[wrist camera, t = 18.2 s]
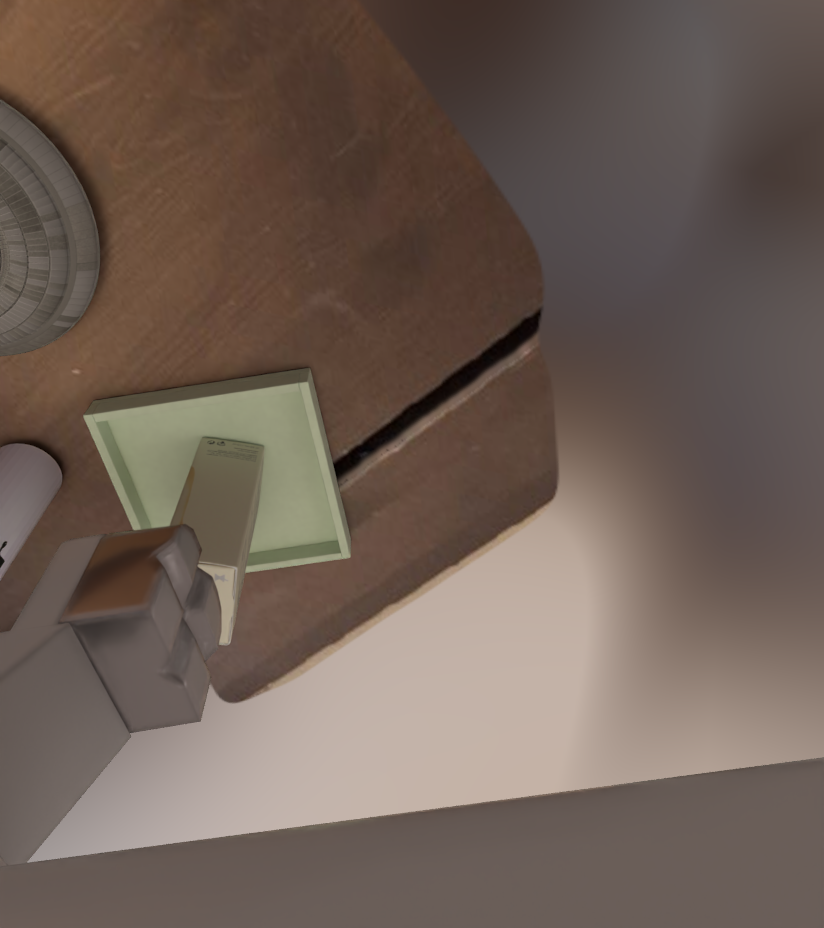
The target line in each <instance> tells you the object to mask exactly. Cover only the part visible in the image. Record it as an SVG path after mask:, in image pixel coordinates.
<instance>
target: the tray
mask: <svg viewBox="0 0 824 928" xmlns="http://www.w3.org/2000/svg"><path fill="white" fill-rule="evenodd" d="M83 417H84V419H85V422H86V424H87V426H88V428H89V431H90V433H91V435H92V437H93V440H94V442H95V444H96V447H97V449H98V451H99V453H100V456H101V458H102V460H103V462H104V465H105V467H106V469H107V471H108V474H109V476H110V478H111V480H112V483H113V485H114V487H115V489H116V492H117V494H118V496H119V498H120V501H121V503H122V505H123V507H124V510H125V512H126V514H127V517H128V519H129V521H130V523H131V526H132V528H133V530H140V529H148V528H156V527H164V526H170V523H171V520H172V517H173V515H174V512H175V509H176V506H177V504H178V501H179V498H180V495H181V493H182V490H183V487H184V484H185V482H186V479H187V476H188V474H189V471H190V468H191V465H192V462H193V460H194V457H195V454H196V451H197V448H198V446H199V443H200V440H201V438H212V439H220V440H228V441H234V442H241V443H246V444H252V445H258V446H263V447H264V463H263V474H262V484H261V493H260V501H259V507H258V514H257V519H256V523H255V528H254V533H253V538H252V542H251V547H250V552H249V557H248V561H247V566H246V571H245V573H247V572H254V571H261V570H268V569H275V568H282V567H289V566H296V565H303V564H310V563H317V562H324V561H331V560H338V559H342V558H343V559H345V558H350V557H351V537H350V533H349V529H348V525H347V521H346V516H345V512H344V508H343V504H342V500H341V495H340V491H339V487H338V483H337V479H336V474H335V470H334V466H333V462H332V458H331V453H330V449H329V445H328V441H327V437H326V432H325V428H324V424H323V420H322V416H321V412H320V407H319V403H318V399H317V395H316V391H315V386H314V382H313V378H312V374H311V370H310V368H304V369H298V370H291V371H285V372H278V373H272V374H265V375H259V376H252V377H245V378H239V379H232V380H226V381H219V382H213V383H206V384H200V385H193V386H186V387H180V388H173V389H167V390H160V391H154V392H147V393H140V394H134V395H127V396H121V397H114V398H108V399H101V400H95V401H93V402H92V404H91V405H90V406H89V408H88V409H87V411H86V412H85V414H84V415H83Z"/></svg>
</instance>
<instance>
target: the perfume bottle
mask: <svg viewBox="0 0 824 928" xmlns="http://www.w3.org/2000/svg"><path fill="white" fill-rule="evenodd" d="M61 484H62V473H61V470H60V468H59V466H58V464H57V463H56V461H55V460H54V459H53V458H52V457H51V456H50V455H49V454H47V453H46V452H45V451H43V450H41V449H39V448H37V447H34V446H31V445H27V444H18V443H16V444H9V445H6V446H3V447H1V448H0V580H1V579H2V577H3V576H4V574H5V572H6V571H7V569H8V568H9V566H10V565H11V563H12V562H13V560H14V559H15V557H16V555H17V554H18V552H19V551H20V549H21V548H22V546H23V545H24V543H25V541H26V540H27V538H28V537H29V535H30V534H31V532H32V531H33V529H34V528H35V526H36V524H37V523H38V521H39V520H40V518H41V517H42V515H43V514H44V512H45V510H46V509H47V507H48V506H49V504H50V503H51V501H52V500H53V498H54V497H55V495H56V493H57V492H58V490H59V489H60V487H61Z"/></svg>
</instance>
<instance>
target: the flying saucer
mask: <svg viewBox="0 0 824 928" xmlns="http://www.w3.org/2000/svg"><path fill="white" fill-rule="evenodd" d="M99 268H100V244H99V236H98V230H97V226H96V221H95V218H94V214H93V211H92V208H91V206H90V203H89V200H88V198H87V196H86V193H85V191H84V189H83V187H82V185H81V183H80V182H79V180H78V178H77V176H76V174H75V173H74V171H73V170H72V168H71V167H70V165H69V164H68V162H67V161H66V159H65V158H64V157H63V155H62V154H61V153H60V152H59V150H58V149H57V148H56V147H55V145H54V144H53V143H52V142H51V141H50V140H49V139H48V138H47V137H46V136H45V135H44V134H43V132H42V131H41V130H39V129H38V128H37V127H36V126H35V125H34V124H33V123H32V122H31V121H29V120H28V119H27V118H26V117H25V116H24V115H22V114H21V113H20V112H18V111H17V110H16V109H14V108H13V107H11V106H10V105H8V104H7V103H5V102H4V101H2V100H1V99H0V356H7V355H15V354H21V353H26V352H29V351H33V350H36V349H38V348H41V347H43V346H46V345H48V344H50V343H52V342H53V341H55V340H57V339H58V338H60V337H61V336H63V335H64V334H65V333H66V332H68V331H69V330H70V329H71V328H72V327H73V326H74V325H75V324H76V323H77V322H78V320H79V319H80V318H81V317H82V315H83V314H84V312H85V311H86V309H87V307H88V305H89V304H90V301H91V299H92V297H93V294H94V291H95V288H96V285H97V281H98V276H99Z"/></svg>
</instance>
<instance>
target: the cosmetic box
mask: <svg viewBox="0 0 824 928" xmlns="http://www.w3.org/2000/svg"><path fill="white" fill-rule="evenodd" d="M263 463H264V447H263V446H258V445H252V444H246V443H241V442H234V441H228V440H220V439H212V438H201V440H200V443H199V446H198V448H197V451H196V454H195V457H194V460H193V462H192V465H191V468H190V471H189V474H188V476H187V479H186V482H185V484H184V487H183V490H182V493H181V495H180V498H179V501H178V504H177V506H176V509H175V512H174V515H173V517H172V520H171V523H170V526H172V525H180V524H187V525H188V526H190V527H191V528H193V529H194V531H195V534H196V536H197V538H198V541H199V543H200V546H201V548H202V552H201V556H200V559H199V563H198V567H199V568H201V569H202V570H204V571H205V572H207V573H208V574H209V575H211V576H212V577H213V579H214V582H215V585H216V587H217V590H218V594H219V599H220V604H221V609H222V632H221V637H220V641H219V645H229V644H230V642H231V638H232V633H233V629H234V624H235V619H236V614H237V609H238V605H239V600H240V595H241V590H242V585H243V581H244V576H245V571H246V566H247V561H248V557H249V552H250V547H251V542H252V538H253V533H254V528H255V523H256V519H257V514H258V507H259V501H260V493H261V484H262V474H263Z"/></svg>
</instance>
